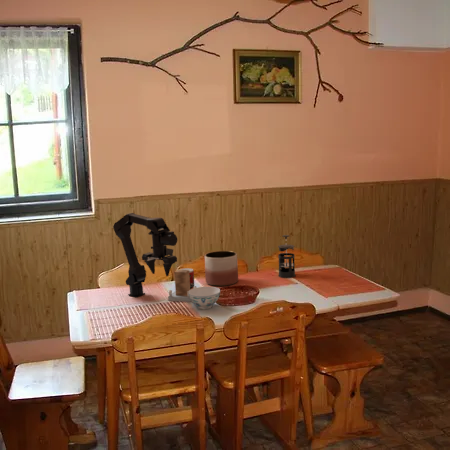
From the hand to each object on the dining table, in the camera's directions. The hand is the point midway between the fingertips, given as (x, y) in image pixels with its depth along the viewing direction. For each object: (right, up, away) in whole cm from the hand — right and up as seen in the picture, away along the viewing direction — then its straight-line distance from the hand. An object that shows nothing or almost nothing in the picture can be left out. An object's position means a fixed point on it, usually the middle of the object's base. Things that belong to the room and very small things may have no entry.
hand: (160, 274), depth 273 cm
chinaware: (+22, -14, -10) cm, 28 cm away
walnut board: (+11, -10, +4) cm, 15 cm away
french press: (+66, -4, +37) cm, 76 cm away
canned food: (+12, -10, +17) cm, 23 cm away
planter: (+30, -7, +29) cm, 43 cm away
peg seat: (+11, -12, +4) cm, 17 cm away
